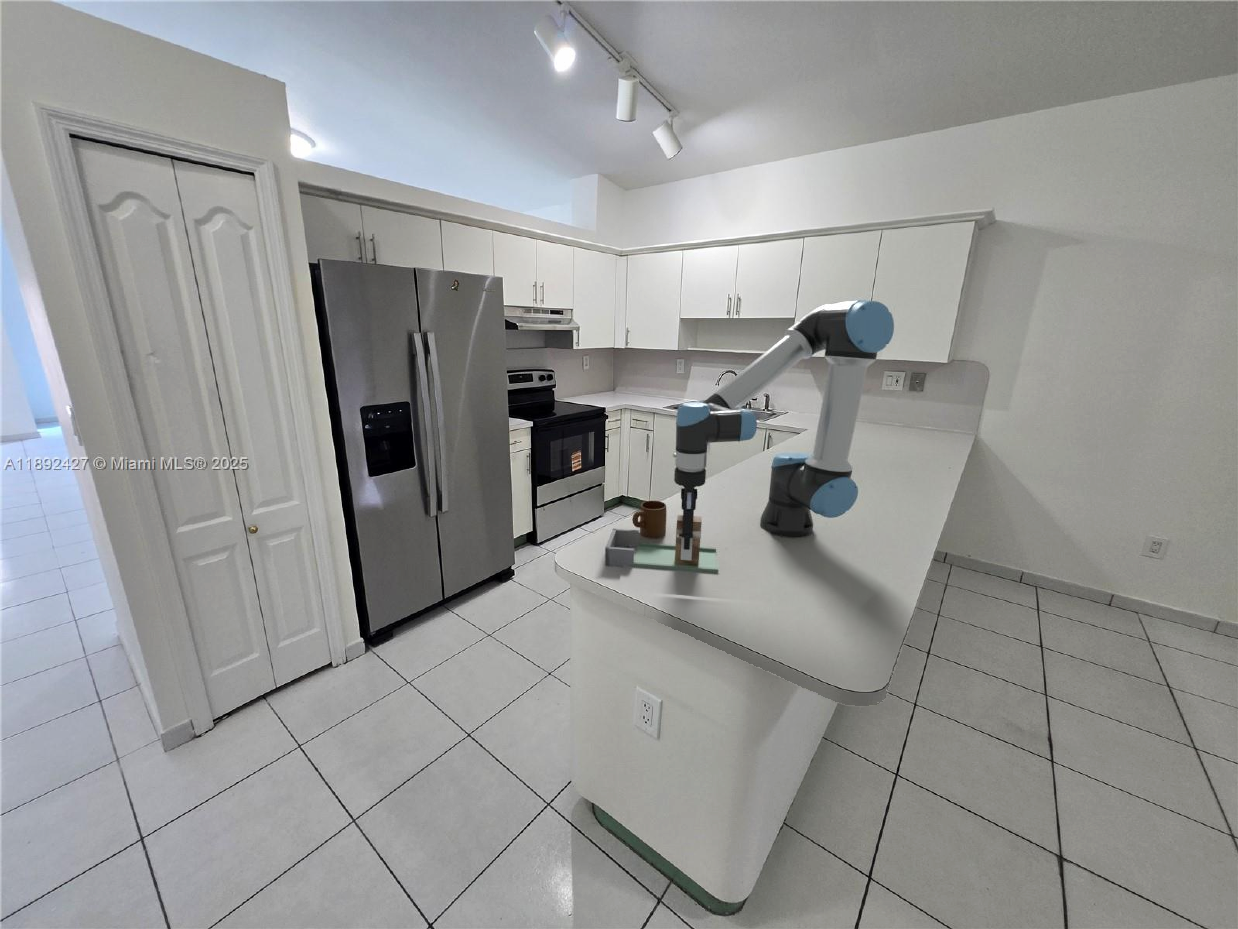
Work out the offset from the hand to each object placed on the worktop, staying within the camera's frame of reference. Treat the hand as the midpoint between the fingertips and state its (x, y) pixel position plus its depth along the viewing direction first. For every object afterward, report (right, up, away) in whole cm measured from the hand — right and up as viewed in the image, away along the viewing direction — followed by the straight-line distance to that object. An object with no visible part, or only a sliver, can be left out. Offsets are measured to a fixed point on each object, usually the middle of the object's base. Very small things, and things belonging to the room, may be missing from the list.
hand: (686, 554), depth 118 cm
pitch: (-6, -2, +3) cm, 7 cm away
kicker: (0, -2, +1) cm, 2 cm away
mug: (-9, +2, +16) cm, 18 cm away
